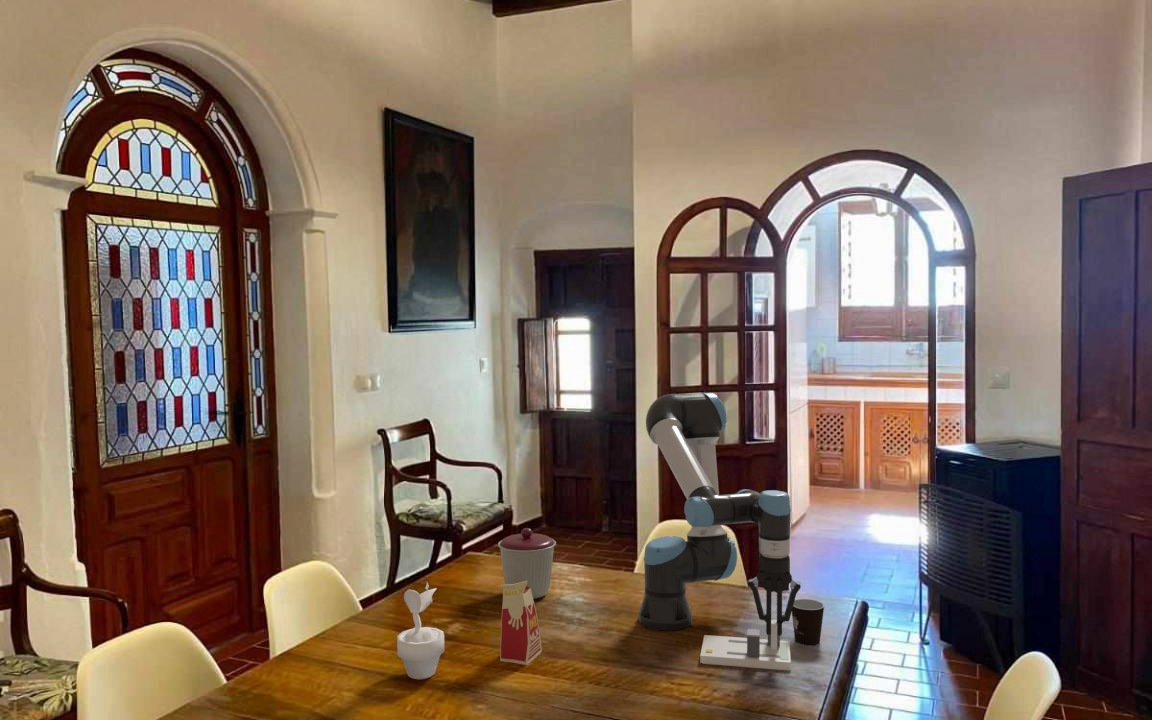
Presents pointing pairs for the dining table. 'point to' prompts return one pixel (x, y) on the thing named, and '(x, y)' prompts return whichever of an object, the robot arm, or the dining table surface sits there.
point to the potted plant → (420, 639)
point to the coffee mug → (807, 621)
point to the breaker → (777, 639)
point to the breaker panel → (744, 653)
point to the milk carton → (519, 625)
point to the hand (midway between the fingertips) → (773, 647)
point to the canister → (528, 560)
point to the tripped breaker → (753, 642)
